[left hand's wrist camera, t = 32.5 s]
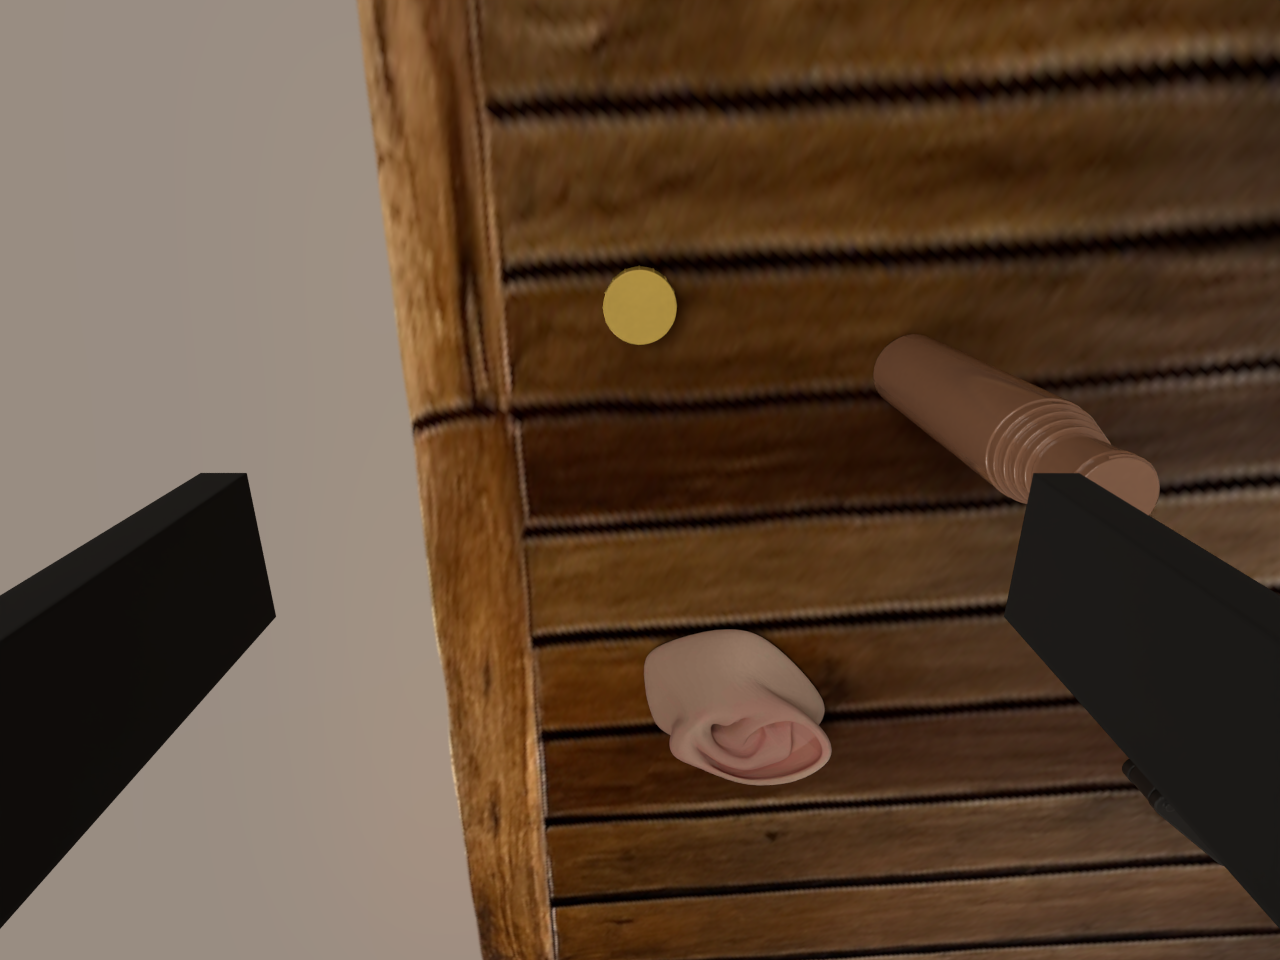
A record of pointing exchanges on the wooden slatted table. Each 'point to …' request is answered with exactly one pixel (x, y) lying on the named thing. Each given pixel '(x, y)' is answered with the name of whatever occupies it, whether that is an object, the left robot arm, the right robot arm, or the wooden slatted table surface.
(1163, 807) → the right robot arm
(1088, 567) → the left robot arm
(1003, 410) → the bottle
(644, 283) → the cap
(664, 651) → the anatomical model
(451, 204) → the wooden slatted table surface
